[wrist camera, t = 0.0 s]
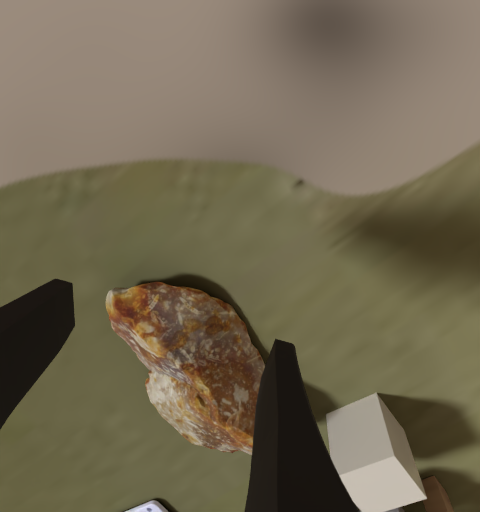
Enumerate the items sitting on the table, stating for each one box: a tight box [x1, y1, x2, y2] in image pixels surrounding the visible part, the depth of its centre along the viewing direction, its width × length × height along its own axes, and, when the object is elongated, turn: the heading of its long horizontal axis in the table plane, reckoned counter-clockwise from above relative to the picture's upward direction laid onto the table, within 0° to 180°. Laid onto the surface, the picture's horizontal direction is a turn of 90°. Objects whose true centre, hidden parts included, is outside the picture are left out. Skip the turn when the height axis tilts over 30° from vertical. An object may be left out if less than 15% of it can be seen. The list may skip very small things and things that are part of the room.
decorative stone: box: [106, 282, 265, 455], centre depth 25 cm, size 10×4×15 cm
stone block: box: [326, 393, 427, 512], centre depth 25 cm, size 4×4×5 cm
